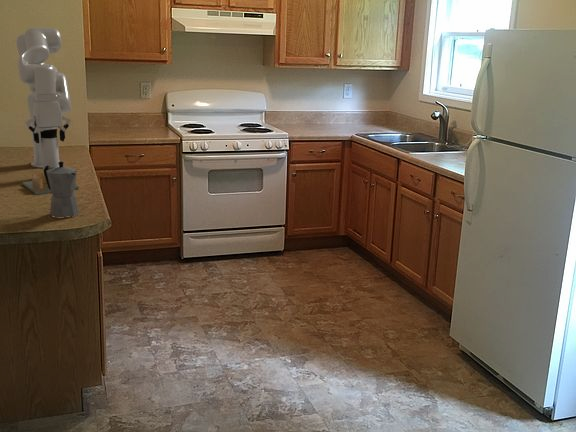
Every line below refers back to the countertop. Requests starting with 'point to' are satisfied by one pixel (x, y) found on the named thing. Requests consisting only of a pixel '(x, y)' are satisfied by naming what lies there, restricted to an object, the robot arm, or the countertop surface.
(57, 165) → the travel mug
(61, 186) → the coffeepot
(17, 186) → the countertop surface
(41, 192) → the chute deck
